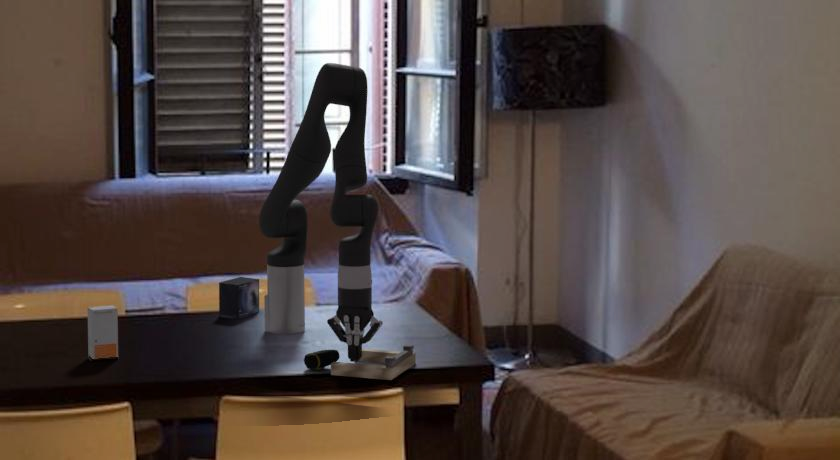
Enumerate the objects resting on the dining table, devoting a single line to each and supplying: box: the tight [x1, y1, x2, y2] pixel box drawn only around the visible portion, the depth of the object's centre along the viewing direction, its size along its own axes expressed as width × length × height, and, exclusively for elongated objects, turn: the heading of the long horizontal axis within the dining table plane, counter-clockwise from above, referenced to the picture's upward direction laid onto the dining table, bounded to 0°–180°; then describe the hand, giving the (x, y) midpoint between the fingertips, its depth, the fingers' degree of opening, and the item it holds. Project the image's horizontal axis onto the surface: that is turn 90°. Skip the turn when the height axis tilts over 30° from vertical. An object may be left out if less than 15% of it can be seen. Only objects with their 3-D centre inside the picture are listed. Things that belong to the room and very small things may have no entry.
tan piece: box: [330, 344, 416, 381], centre depth 287 cm, size 14×16×4 cm
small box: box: [218, 276, 260, 320], centre depth 341 cm, size 11×6×10 cm, turn 155°
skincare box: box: [87, 304, 119, 359], centre depth 296 cm, size 6×4×12 cm
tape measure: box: [303, 349, 340, 371], centre depth 286 cm, size 7×7×4 cm
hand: (355, 360), depth 289 cm, fingers closed
